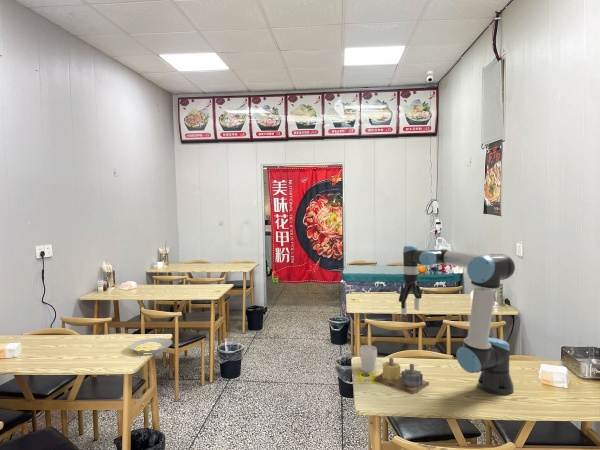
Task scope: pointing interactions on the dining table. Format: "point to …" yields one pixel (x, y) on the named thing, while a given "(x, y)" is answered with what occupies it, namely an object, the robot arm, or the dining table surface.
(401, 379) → the gear board
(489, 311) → the robot arm
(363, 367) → the cup
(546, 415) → the dining table surface
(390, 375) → the ochre gear
